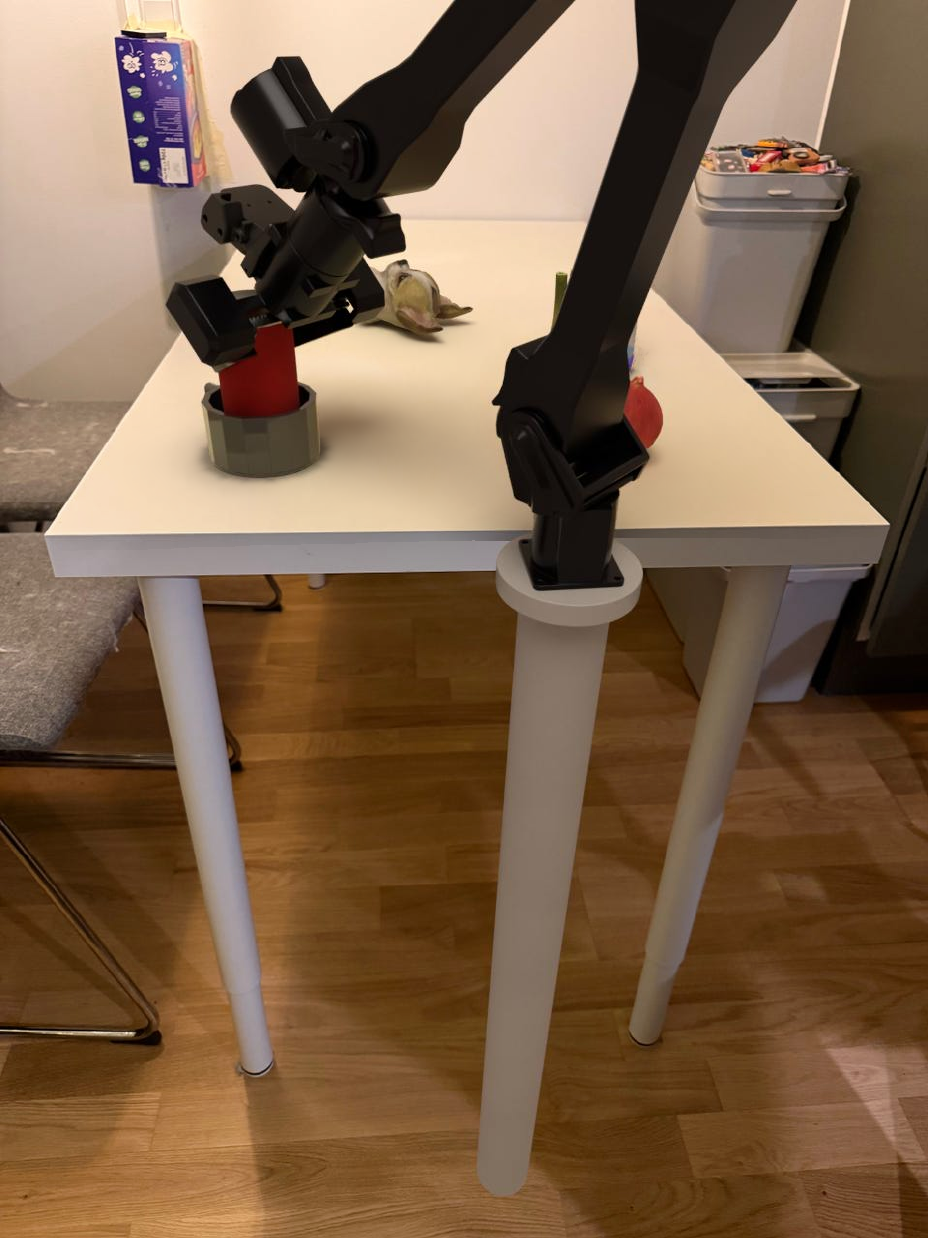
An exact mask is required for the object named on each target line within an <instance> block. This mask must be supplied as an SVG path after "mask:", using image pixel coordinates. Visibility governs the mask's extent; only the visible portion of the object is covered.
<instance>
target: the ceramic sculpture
mask: <svg viewBox="0 0 928 1238" xmlns="http://www.w3.org/2000/svg"><path fill="white" fill-rule="evenodd" d="M369 267H370V268H371V270H372V272H373V273H374V275H375V276H376V278H377V280H378V281H379V283H380V284H381V286H382V288H383V289H384V291H385V307H384V308H383V309H382V310H381V312H380V313H379V314H378V315H377V316H376V318H374V319H371V320H367V321H364V322H363V323H366V324H371V323H377V322H379V321H384V322H388V323H389V324H391V325H394V326H396V327H398V328H402V329H403V330H408V331H410V332H412V333H414V334H416V335H422V336H423V335H430V334H434V333H439V332H442V331H444V327H443V326H441V325H440V324H439V323H438V321H437V319H438V320H451V319H454V318H458V317H461V316H464V315H466V314H470V313H472V312H473V311H474V307H472V306H463V307H460V305H458V304H457V303H456V302H452V300H451V299H449V297H447V296H444V295H441V293H440V292H441V291H440V288H439V285H438V283H437V281H436V280H435V279H434V278H433V276H432V275H431V274H430V273H428V272H427V271H422V270H420V269H413V268H411V267H410V264H409V262H408V260H407V259H405V258H403V259H397V260H395V261H393V262H390V263H389V264H387V265H386V267H385V269H384V270H383V271H380V270H379V269H376V268H375V267H374V266H373V267H372V266H369Z"/></svg>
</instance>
